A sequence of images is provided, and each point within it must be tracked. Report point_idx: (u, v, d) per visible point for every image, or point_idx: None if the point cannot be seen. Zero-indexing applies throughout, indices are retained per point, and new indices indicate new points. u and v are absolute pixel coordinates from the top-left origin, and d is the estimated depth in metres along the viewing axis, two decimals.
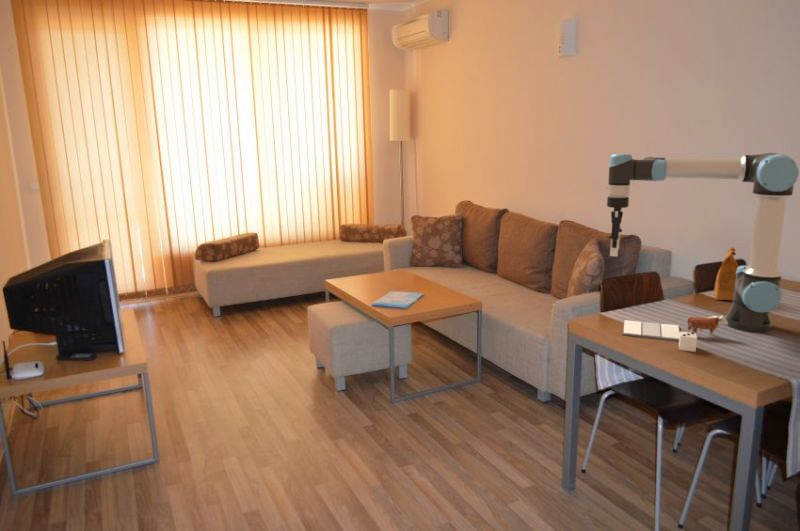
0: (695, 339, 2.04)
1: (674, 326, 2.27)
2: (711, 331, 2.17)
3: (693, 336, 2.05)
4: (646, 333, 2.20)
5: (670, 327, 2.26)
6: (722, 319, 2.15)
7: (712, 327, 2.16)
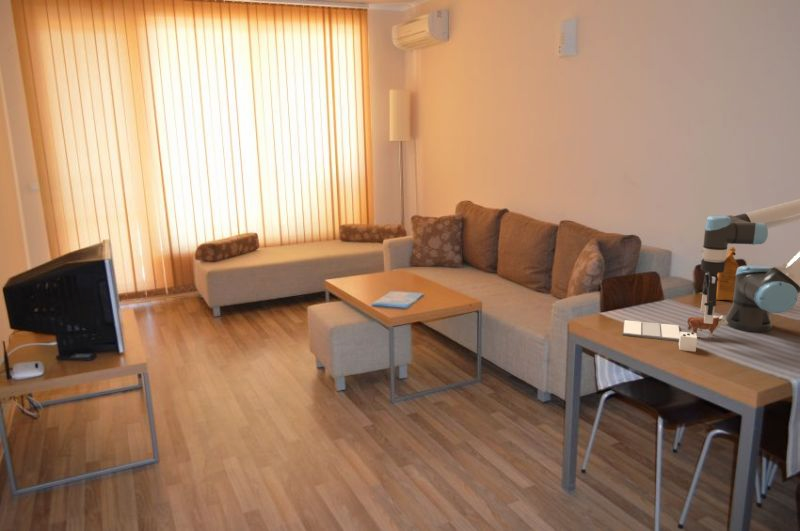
0: (695, 339, 2.04)
1: (674, 326, 2.27)
2: (711, 331, 2.17)
3: (693, 336, 2.05)
4: (646, 333, 2.20)
5: (670, 327, 2.26)
6: (722, 319, 2.15)
7: (712, 327, 2.16)
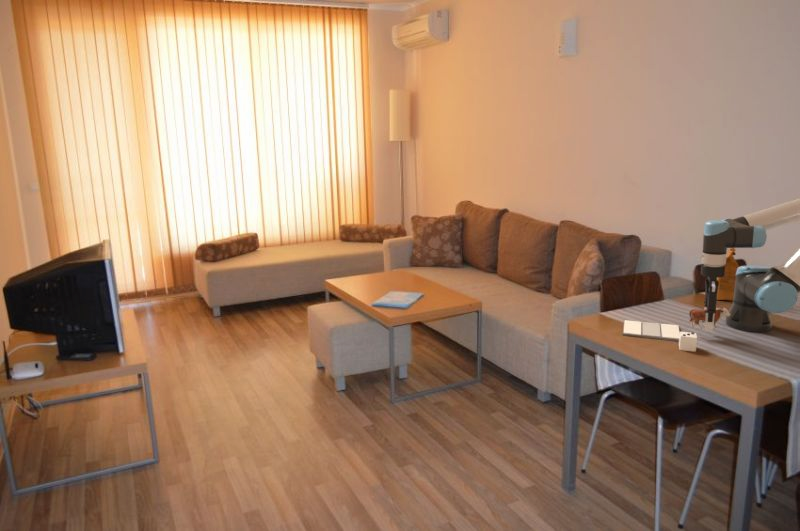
0: (695, 339, 2.04)
1: (674, 326, 2.27)
2: None
3: (693, 336, 2.05)
4: (646, 333, 2.20)
5: (670, 327, 2.26)
6: (724, 311, 2.14)
7: (714, 319, 2.16)
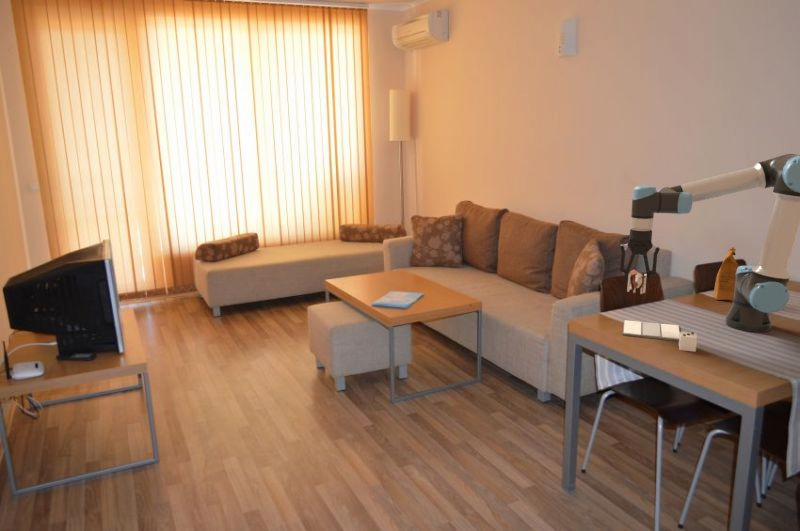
0: (695, 339, 2.04)
1: (674, 326, 2.27)
2: None
3: (693, 336, 2.05)
4: (646, 333, 2.20)
5: (670, 327, 2.26)
6: (635, 276, 2.18)
7: (633, 282, 2.22)
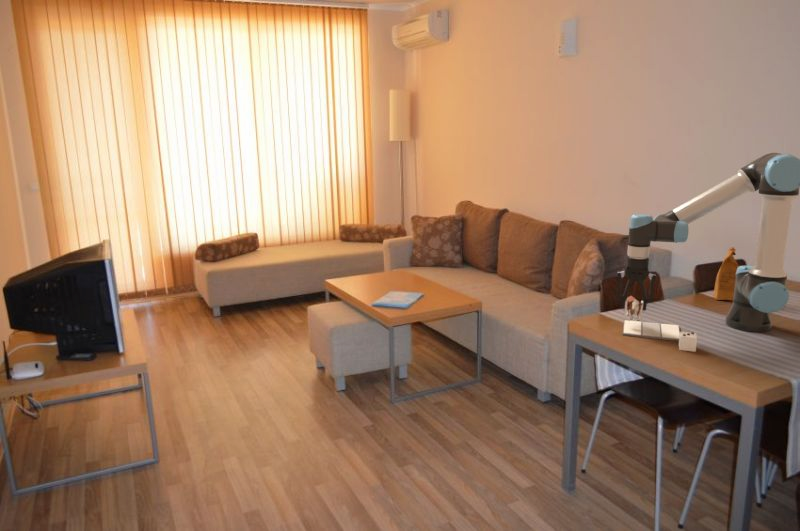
0: (695, 339, 2.04)
1: (674, 326, 2.27)
2: None
3: (693, 336, 2.05)
4: (646, 333, 2.20)
5: (670, 327, 2.26)
6: None
7: (629, 309, 2.24)
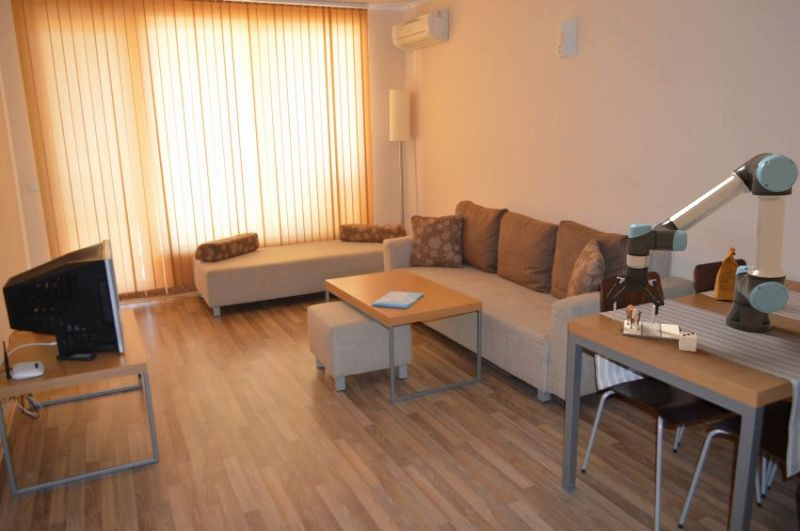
0: (695, 339, 2.04)
1: (674, 326, 2.27)
2: None
3: (693, 336, 2.05)
4: (646, 333, 2.20)
5: (670, 327, 2.26)
6: (632, 312, 2.22)
7: (629, 317, 2.25)
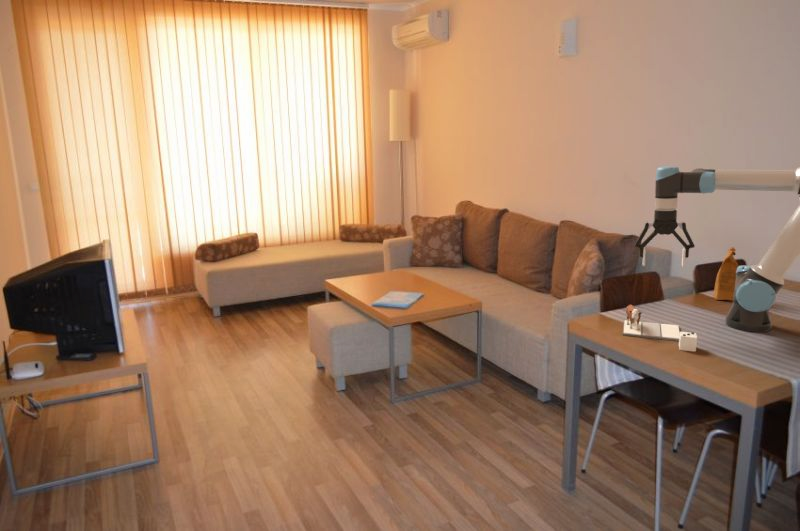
0: (695, 339, 2.04)
1: (674, 326, 2.27)
2: None
3: (693, 336, 2.05)
4: (646, 333, 2.20)
5: (670, 327, 2.26)
6: (632, 312, 2.22)
7: (629, 317, 2.25)
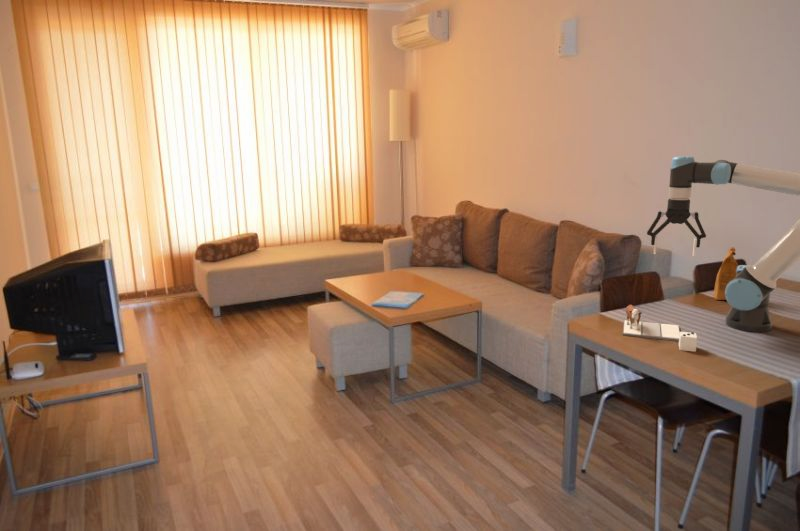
0: (695, 339, 2.04)
1: (674, 326, 2.27)
2: None
3: (693, 336, 2.05)
4: (646, 333, 2.20)
5: (670, 327, 2.26)
6: (632, 312, 2.22)
7: (629, 317, 2.25)
